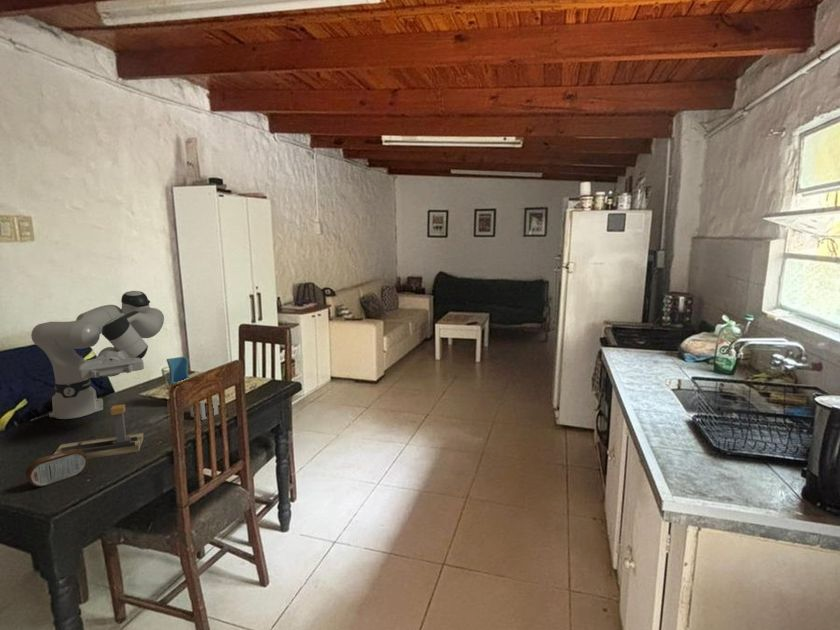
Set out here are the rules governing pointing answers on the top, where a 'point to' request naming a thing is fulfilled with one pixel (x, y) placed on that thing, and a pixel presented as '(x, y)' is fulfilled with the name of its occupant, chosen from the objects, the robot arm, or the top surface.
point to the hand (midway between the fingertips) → (112, 372)
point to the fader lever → (119, 424)
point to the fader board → (104, 446)
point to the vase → (177, 369)
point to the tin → (56, 467)
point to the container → (203, 408)
